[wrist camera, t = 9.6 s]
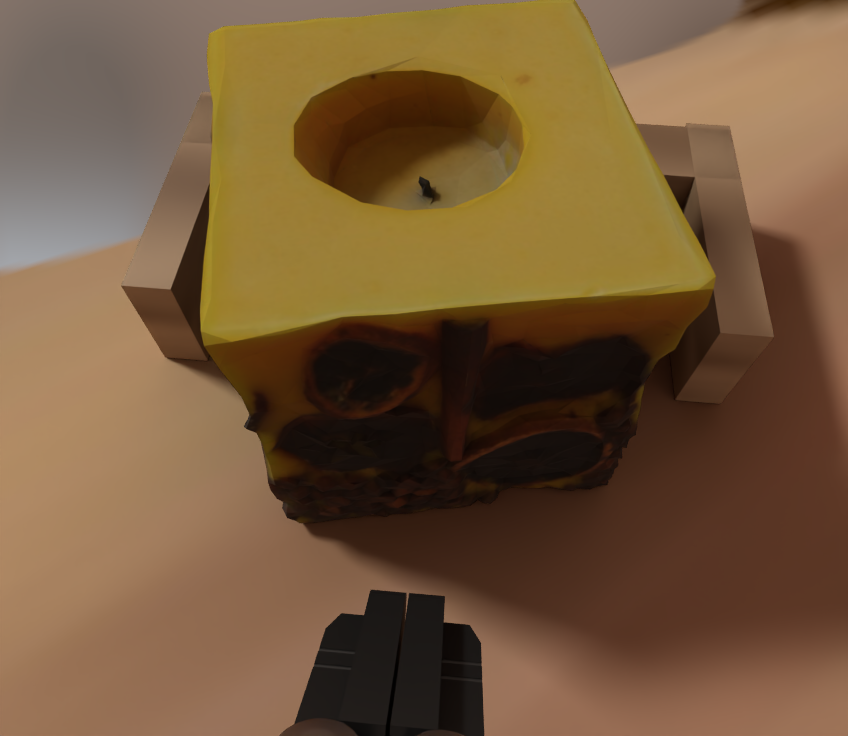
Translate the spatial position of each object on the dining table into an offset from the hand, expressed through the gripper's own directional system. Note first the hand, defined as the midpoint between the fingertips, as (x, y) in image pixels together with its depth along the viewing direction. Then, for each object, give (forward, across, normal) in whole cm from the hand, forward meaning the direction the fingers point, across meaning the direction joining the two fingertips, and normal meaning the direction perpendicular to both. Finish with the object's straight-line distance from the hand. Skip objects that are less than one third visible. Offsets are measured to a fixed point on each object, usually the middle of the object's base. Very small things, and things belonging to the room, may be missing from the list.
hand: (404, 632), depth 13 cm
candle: (+11, 0, -2) cm, 11 cm away
